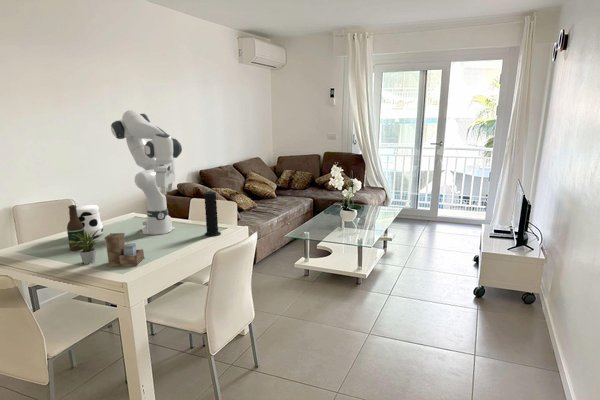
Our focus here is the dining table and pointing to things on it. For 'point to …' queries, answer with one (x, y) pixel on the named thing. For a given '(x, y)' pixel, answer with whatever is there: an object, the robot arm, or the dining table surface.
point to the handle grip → (211, 214)
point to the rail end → (130, 249)
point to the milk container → (90, 219)
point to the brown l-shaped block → (121, 251)
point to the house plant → (86, 247)
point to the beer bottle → (74, 228)
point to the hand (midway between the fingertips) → (167, 193)
